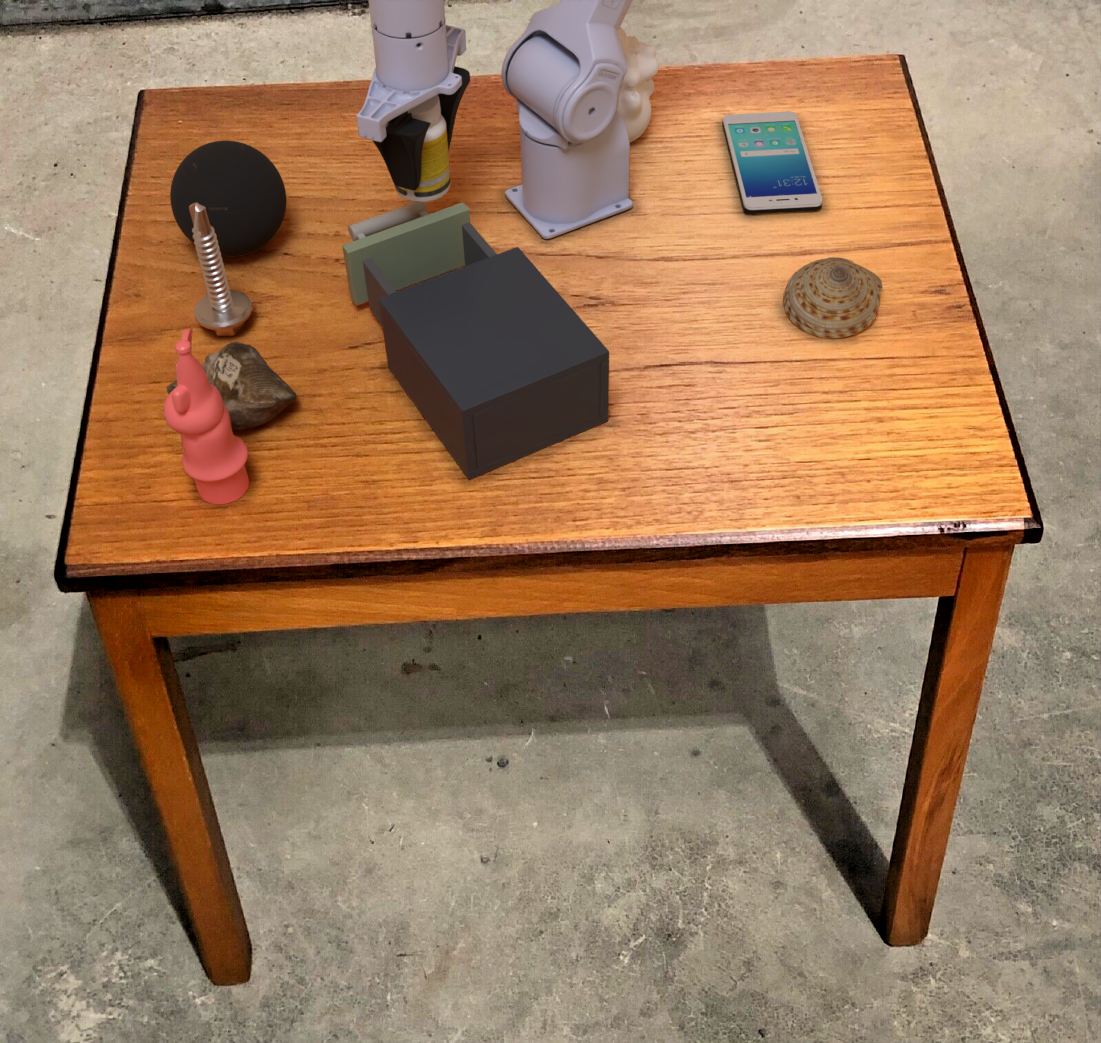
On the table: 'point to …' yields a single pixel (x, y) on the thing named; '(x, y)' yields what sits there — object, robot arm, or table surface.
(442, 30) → the robot arm
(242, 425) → the fossilized seashell
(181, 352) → the figurine
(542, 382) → the cabinet
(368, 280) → the drawer
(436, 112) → the supplement bottle
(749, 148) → the smartphone
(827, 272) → the seashell
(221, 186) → the speaker
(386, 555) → the table surface
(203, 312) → the screw
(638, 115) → the figurine
